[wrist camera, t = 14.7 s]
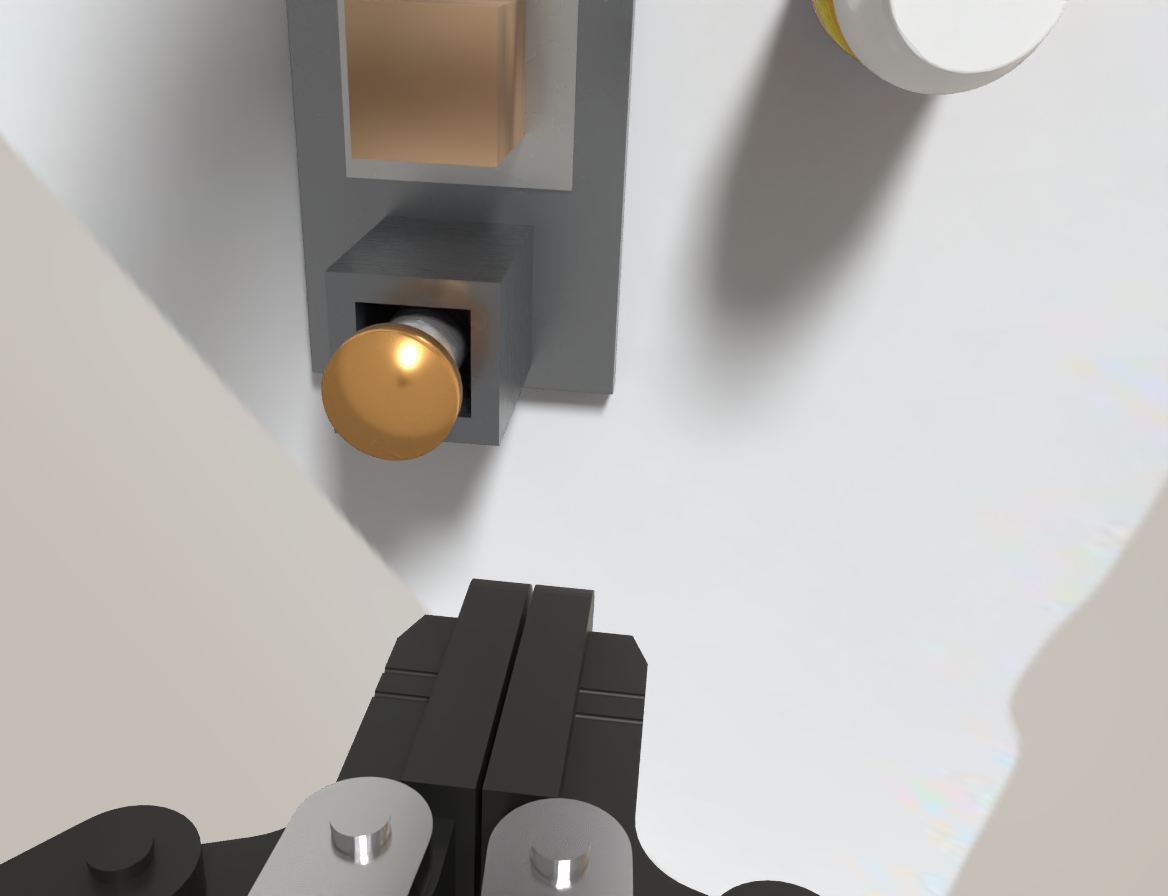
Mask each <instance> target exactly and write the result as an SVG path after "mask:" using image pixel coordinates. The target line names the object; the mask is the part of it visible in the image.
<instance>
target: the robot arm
mask: <svg viewBox="0 0 1168 896" xmlns="http://www.w3.org/2000/svg"><path fill="white" fill-rule="evenodd" d="M593 612H594V590H585V589H575V588H565V587H555V586H545V585H535V588H534V591H533V590H532V585H531V584H523V583H513V582H503V581H493V580H483V579H472V581H471V583H470V585H469V588H468V591H467V594H466V596H465V599H464V602H463V605H462V608H461V611H460V613H459V616H458V618H453V617H443V616H433V615H424V616H423V617H422V618H421V619H420V620H418V621H417V622H416V623H415V624H414V625H412V626H411V627H410V628H409V629H408V630H407V631H405V632H404V633H403V634H402V635H401V636H400V637H399V638H397V641H396V643H395V646H394V648H393V650H392V653H391V655H390V657H389V659H388V662H387V664H386V667H385V673H383V674H382V676H381V678H380V681H379V683H378V685H377V688H376V690H375V696H374V697H372V699H371V702H370V704H369V707H368V709H367V711H366V713H365V716H364V718H363V720H362V723H361V725H360V728H359V730H358V732H357V735H356V737H355V739H354V742H353V744H352V746H351V749H350V751H349V753H348V756H347V758H346V760H345V763H344V765H343V767H342V770H341V772H340V774H339V777H338V779H337V781H336V783H334V784H331V785H328V786H326V787H324V788H322V789H321V790H319V791H317V792H315V793H314V794H313V795H311V796H310V797H309V798H307V799H306V800H305V801H304V802H303V803H302V804H301V805H300V806H299V808H298V809H297V811H296V812H295V813H294V815H293V816H292V818H291V820H290V822H289V823H288V825H287V827H285V828H283V829H281V830H278V831H275V832H272V833H268V834H264V835H259V836H254V837H249V838H241V839H234V840H227V841H220V842H213V843H206V844H201V842H200V837H199V834H198V831H197V829H196V828H195V826H194V825H193V823H192V822H190V820H189V819H187V818H186V817H185V816H184V815H182V814H180V813H178V812H176V811H174V810H171V809H168V808H165V807H159V806H151V805H138V806H128V807H123V808H118V809H114V810H110V811H107V812H104V813H101V814H99V815H97V816H94V817H92V818H90V819H88V820H86V821H84V822H82V823H80V824H78V825H76V826H74V827H72V828H70V829H68V830H66V831H65V832H62V833H61V834H59V835H57V836H55V837H53V838H51V839H49V840H47V841H45V842H43V843H41V844H39V845H37V846H35V847H34V848H32V849H30V850H28V851H26V852H24V853H22V854H20V855H18V856H16V857H14V858H12V859H10V860H8V861H6V862H4V863H2V864H0V896H708V895H706V894H703V893H701V892H698V891H696V890H693V889H691V888H689V887H687V886H685V885H683V884H680V883H678V882H677V881H675V880H674V879H672V878H671V877H669V876H667V875H666V874H665V873H664V872H662V871H661V870H660V869H659V868H658V867H657V866H656V865H655V864H654V863H653V862H652V861H651V860H650V859H649V858H648V856H647V855H646V853H645V851H644V850H643V848H642V847H641V844H640V842H639V840H638V837H637V833H636V828H635V812H636V800H637V788H638V776H639V763H640V751H641V739H642V727H643V715H644V702H645V690H646V678H647V666H648V664H647V662H646V660H645V658H644V656H643V654H642V653H641V651H640V649H639V647H638V645H637V643H636V641H635V640H634V638H633V636H630V635H620V634H610V633H601V632H592V627H593ZM721 896H820V895H818V894H816V893H814V892H812V891H810V890H808V889H806V888H803V887H800V886H797V885H794V884H790V883H786V882H781V881H769V880H766V881H754V882H749V883H745V884H741V885H739V886H736V887H734V888H732V889H730V890H729V891H727V892H725V893H724V894H723V895H721Z"/></svg>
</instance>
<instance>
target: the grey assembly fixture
mask: <svg viewBox="0 0 1168 896" xmlns="http://www.w3.org/2000/svg"><path fill="white" fill-rule="evenodd" d="M286 1H287V15H288V30H289V44H290V58H291V72H292V86H293V101H294V115H295V129H296V143H297V157H298V171H299V186H300V200H301V214H302V228H303V242H304V256H305V271H306V285H307V299H308V313H309V327H310V341H311V356H312V370H313V372H318V373H324V371H325V368H326V366H327V364H328V362H329V360H330V359H331V357H332V356H333V355H334V353H335V352H336V351H337V350H338V349H339V348H340V347H341V345H342V344H343V343H344V342H345V341H346V340H347V339H348V338H349V337H350V336H352V335H353V334H354V333H356V332H357V331H359V330H361V329H363V328H365V327H368V326H371V325H375V324H380V323H389V321H390V320H391V319H392V318H393V316H394V315H395V314H396V313H397V311H398V310H399V309H400V308H401V306H402V305H408V306H423V307H437V308H452V309H467V310H471V350H470V351H469V353H468V355H467V357H466V358H465V360H464V362H463V364H462V366H461V367H460V369H459V373H460V375H461V380H462V387H463V398H462V404H461V408H460V411H459V414H458V416H457V418H456V420H455V422H454V424H453V426H452V428H451V430H450V431H449V433H448V435H447V436H446V438H445V439H444V440H443V441H444V442H457V443H470V444H483V445H496V446H499V445H500V442H501V440H502V437H503V435H504V432H505V430H506V427H507V425H508V422H509V420H510V417H511V415H512V412H513V410H514V407H515V405H516V402H517V400H518V397H519V395H520V392H521V390H522V388H535V389H549V390H562V391H576V392H589V393H603V394H613V390H614V385H615V369H616V351H617V332H618V313H619V295H620V276H621V258H622V239H623V221H624V202H625V183H626V165H627V146H628V128H629V109H630V90H631V72H632V53H633V35H634V16H635V0H526V40H525V102H524V137H523V139H522V140H521V141H520V142H519V143H518V144H517V145H516V146H515V148H514V149H513V150H512V151H511V152H510V153H509V154H508V156H507V157H506V158H505V159H504V160H503V161H502V162H501V164H500V165H499V166H498V167H488V166H471V165H455V164H438V163H422V162H405V161H389V160H372V159H356V158H352V155H351V135H350V114H349V94H348V73H347V52H346V32H345V11H344V0H286ZM334 431H335V433H338V432H337V431H336V429H335V428H334Z"/></svg>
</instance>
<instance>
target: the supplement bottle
mask: <svg viewBox="0 0 1168 896" xmlns="http://www.w3.org/2000/svg"><path fill="white" fill-rule="evenodd" d="M811 1H812V4H813V8H814V10H815V13H816V15H817V17H818V19H819V21H820V23H821V25H822V26H823V28H824V29H825V31H826V32H827V33H828V35H829V36H830V37H831V38H832V39H833V40H834V41H835V42H836V43H837V44H838V45H839V46H840V47H841V48H842V49H844V50H845V51H846V52H848V53H849V54H850V55H852V56H853V57H854V58H855V59H857V60H858V61H859V62H861V63H862V64H863V65H864V66H865V67H867V68H868V69H869V70H870V71H871V72H873V73H874V74H876V75H877V76H878V77H880V78H881V79H883V80H885V81H887V82H888V83H890V84H892V85H894V86H897V87H899V88H902V89H905V90H908V91H911V92H916V93H922V94H933V95H945V94H954V93H960V92H964V91H969V90H972V89H976V88H979V87H981V86H984V85H986V84H989V83H991V82H993V81H995V80H997V79H999V78H1000V77H1002V76H1004V75H1005V74H1007V73H1009V72H1010V71H1011V70H1013V69H1014V68H1016V67H1017V66H1018V65H1020V64H1021V63H1022V62H1023V61H1024V60H1025V59H1026V58H1027V57H1028V56H1029V55H1030V54H1031V53H1032V52H1033V51H1034V50H1035V49H1036V48H1037V47H1038V46H1039V44H1040V43H1041V42H1042V41H1043V39H1044V38H1045V37H1046V36H1047V35H1048V34H1049V32H1050V31H1051V30H1052V28H1053V27H1054V26H1055V24H1056V23H1057V21H1058V19H1059V18H1060V16H1061V13H1062V11H1063V9H1064V7H1065V5H1066V3H1067V0H811Z"/></svg>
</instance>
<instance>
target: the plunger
mask: <svg viewBox="0 0 1168 896" xmlns="http://www.w3.org/2000/svg"><path fill="white" fill-rule="evenodd" d="M470 350H471V310H467V309H452V308H437V307H423V306H408V305H402V306H401V308H400V309H399V310H398V311H397V313H396V314H395V315H394V316H393V318H392V319H391V320H390V321H389V323H380V324H375V325H371V326H368V327H365V328H363V329H361V330H359V331H357V332H356V333H354V334H353V335H352V336H350V337H349V338H348V339H347V340H346V341H345V342H344V343H343V344H342V345H341V347H340V348H339V349H338V350H337V351H336V352H335V353H334V355H333V356H332V357H331V359H330V360H329V362H328V364H327V366H326V368H325V371H324V375H323V379H322V400H323V404H324V408H325V411H326V413H327V416H328V418H329V420H330V422H331V423H332V425H333V427H334V428H335V429H336V431H337V432H338V433H339V434H340V435H341V436H342V437H343V438H344V439H345V440H346V441H347V442H348V443H349V444H351V445H352V446H354V447H355V448H356V449H358V450H360V451H362V452H364V453H366V454H368V455H371V456H373V457H377V458H381V459H386V460H408V459H413V458H417V457H419V456H422V455H424V454H426V453H428V452H430V451H432V450H433V449H434V448H436V447H437V446H438V445H439V444H440V443H441V442H442V441H443V440H444V439H445V438H446V436H447V435H448V433H449V431H450V430H451V428H452V426H453V424H454V422H455V420H456V418H457V416H458V414H459V411H460V408H461V404H462V398H463V387H462V380H461V375H460V373H459V369H460V367H461V366H462V364H463V362H464V360H465V358H466V357H467V355H468V353H469V351H470Z"/></svg>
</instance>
